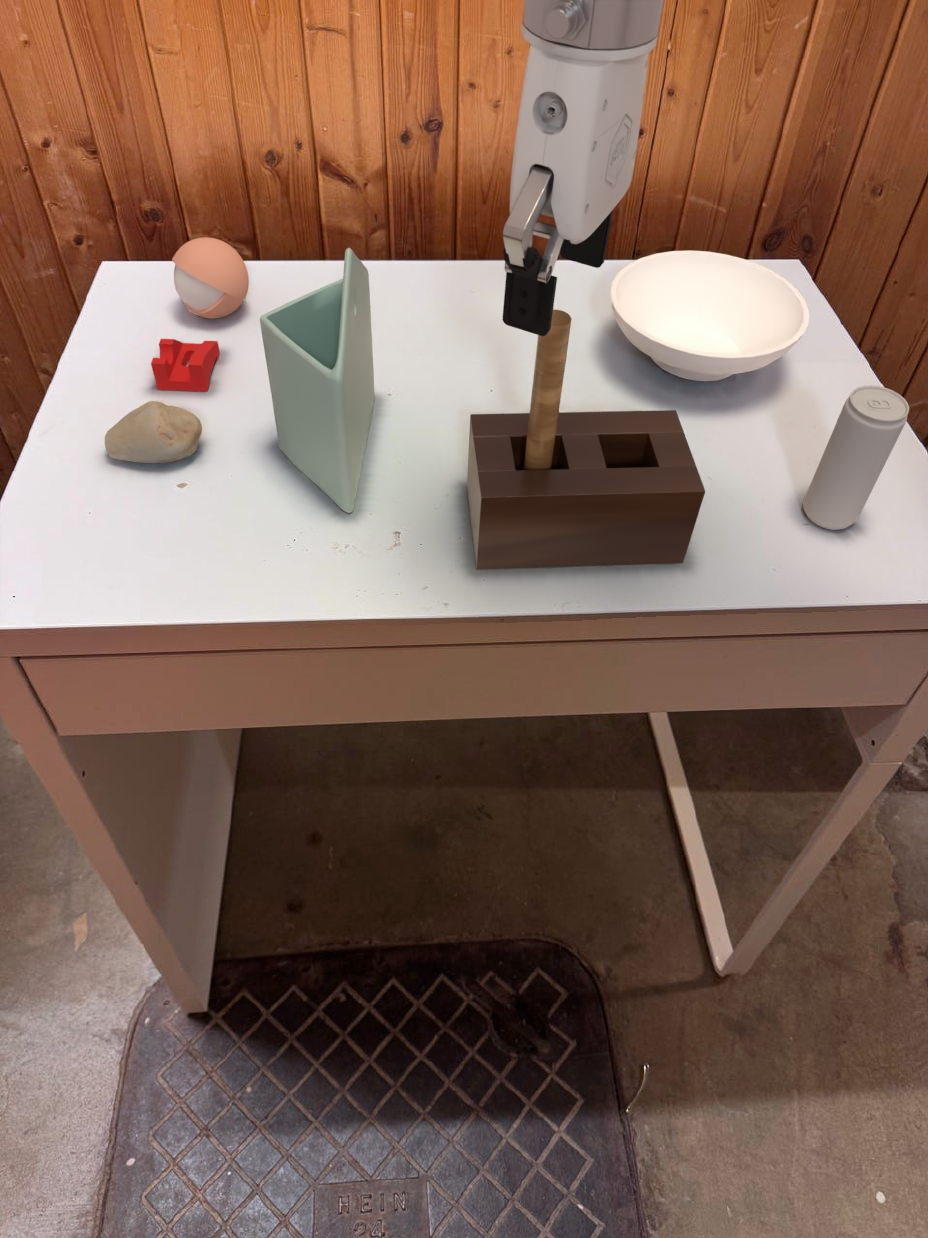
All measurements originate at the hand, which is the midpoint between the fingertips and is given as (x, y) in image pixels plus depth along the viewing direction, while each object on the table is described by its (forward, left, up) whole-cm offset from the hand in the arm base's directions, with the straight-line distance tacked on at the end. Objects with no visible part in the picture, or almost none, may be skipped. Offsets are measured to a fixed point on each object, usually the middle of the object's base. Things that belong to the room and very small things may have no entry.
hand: (554, 293), depth 63 cm
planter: (+21, 0, -22) cm, 30 cm away
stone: (+34, +7, -22) cm, 41 cm away
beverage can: (-23, -14, -22) cm, 35 cm away
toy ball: (+43, -14, -22) cm, 50 cm away
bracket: (+39, -4, -22) cm, 45 cm away
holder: (-3, -2, -22) cm, 22 cm away
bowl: (-5, -31, -22) cm, 38 cm away
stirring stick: (0, 0, -22) cm, 22 cm away
